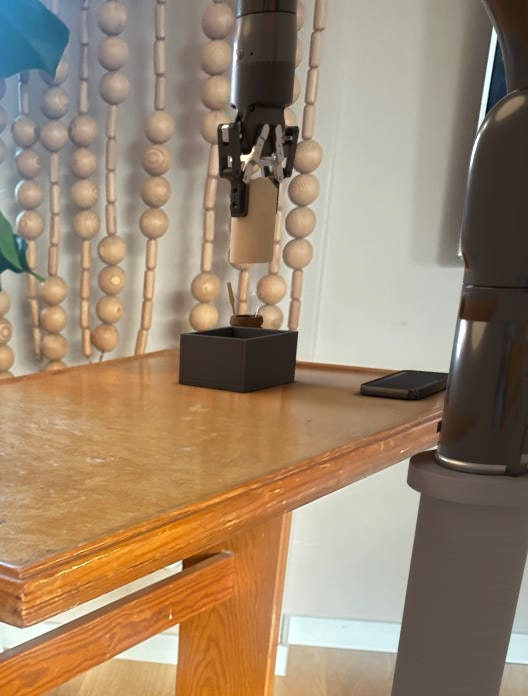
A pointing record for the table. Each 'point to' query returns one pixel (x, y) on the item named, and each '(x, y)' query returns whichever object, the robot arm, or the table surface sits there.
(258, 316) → the utensil holder
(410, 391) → the phone
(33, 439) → the table surface
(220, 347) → the bin
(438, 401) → the table surface
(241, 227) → the candle
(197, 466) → the table surface
